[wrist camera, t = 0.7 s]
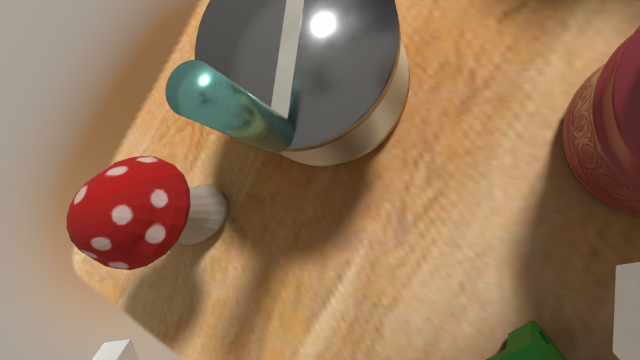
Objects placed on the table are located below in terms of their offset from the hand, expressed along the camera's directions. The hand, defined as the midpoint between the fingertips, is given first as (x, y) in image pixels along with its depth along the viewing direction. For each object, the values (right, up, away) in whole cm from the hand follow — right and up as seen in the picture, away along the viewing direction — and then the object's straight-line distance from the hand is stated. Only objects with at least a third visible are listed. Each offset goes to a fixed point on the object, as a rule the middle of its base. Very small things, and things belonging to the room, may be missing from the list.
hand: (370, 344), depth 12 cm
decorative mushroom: (-13, +1, +32) cm, 35 cm away
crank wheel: (-2, +14, +27) cm, 30 cm away
